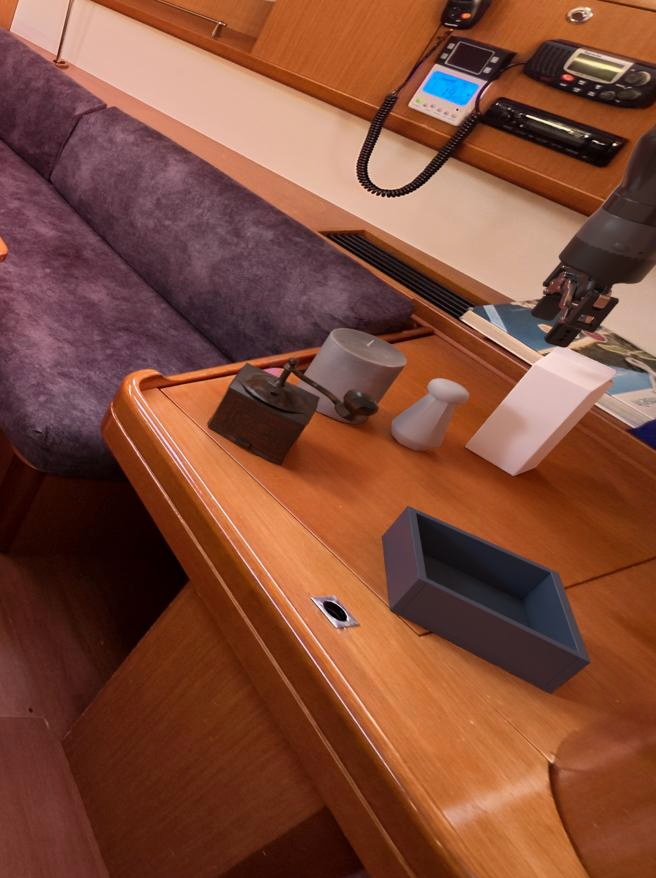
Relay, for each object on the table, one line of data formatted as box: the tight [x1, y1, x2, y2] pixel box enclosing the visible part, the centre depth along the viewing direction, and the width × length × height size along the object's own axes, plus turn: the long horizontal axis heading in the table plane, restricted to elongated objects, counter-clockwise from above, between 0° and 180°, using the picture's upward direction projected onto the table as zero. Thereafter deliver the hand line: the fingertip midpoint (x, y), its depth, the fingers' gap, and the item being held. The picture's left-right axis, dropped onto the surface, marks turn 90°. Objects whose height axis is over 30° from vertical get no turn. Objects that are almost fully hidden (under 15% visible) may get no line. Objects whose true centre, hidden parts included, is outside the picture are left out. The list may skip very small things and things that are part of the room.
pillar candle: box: [296, 327, 408, 425], centre depth 109 cm, size 10×10×15 cm
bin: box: [381, 505, 591, 695], centre depth 80 cm, size 14×14×7 cm
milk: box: [464, 346, 618, 477], centre depth 98 cm, size 6×6×22 cm
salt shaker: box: [390, 377, 470, 452], centre depth 102 cm, size 6×6×13 cm
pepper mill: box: [206, 356, 380, 466], centre depth 100 cm, size 16×11×18 cm
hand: (546, 330), depth 96 cm, fingers open, 8 cm apart
